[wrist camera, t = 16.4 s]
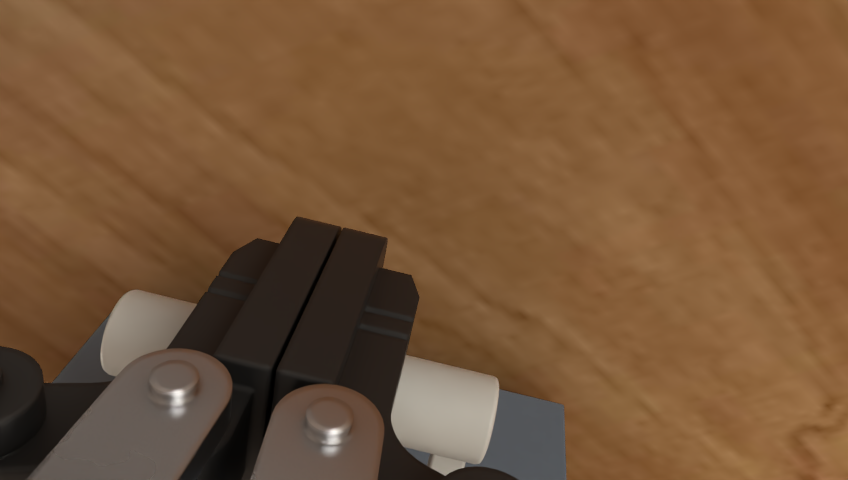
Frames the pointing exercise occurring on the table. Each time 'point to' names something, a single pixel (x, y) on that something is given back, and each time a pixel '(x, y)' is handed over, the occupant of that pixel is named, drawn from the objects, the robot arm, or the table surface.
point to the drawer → (413, 407)
